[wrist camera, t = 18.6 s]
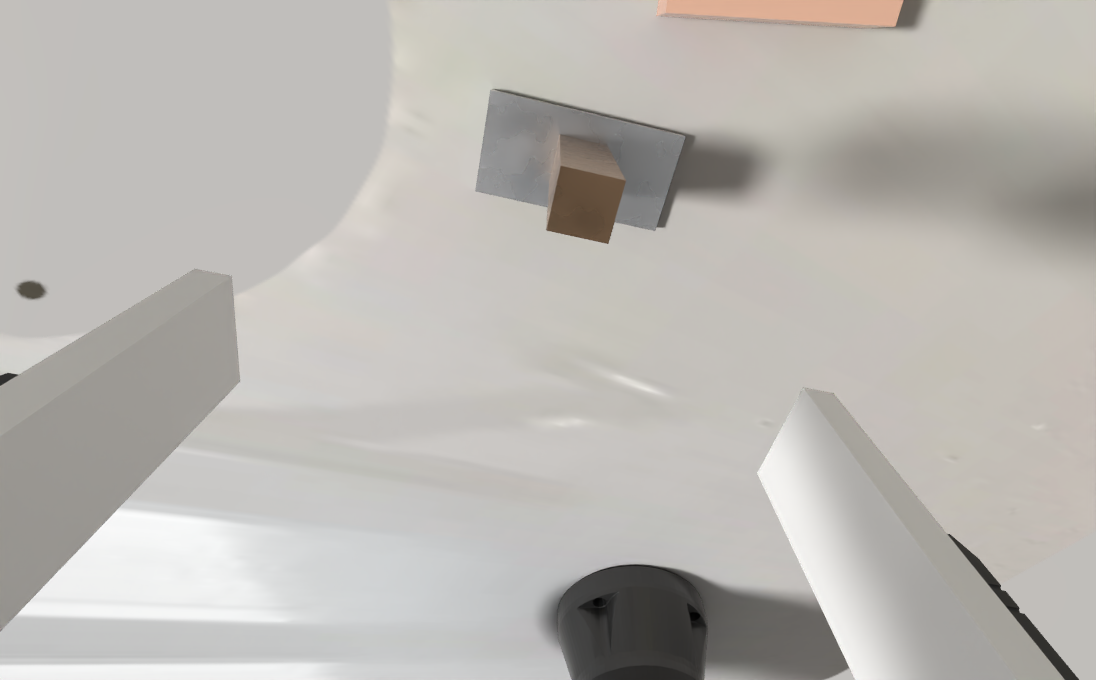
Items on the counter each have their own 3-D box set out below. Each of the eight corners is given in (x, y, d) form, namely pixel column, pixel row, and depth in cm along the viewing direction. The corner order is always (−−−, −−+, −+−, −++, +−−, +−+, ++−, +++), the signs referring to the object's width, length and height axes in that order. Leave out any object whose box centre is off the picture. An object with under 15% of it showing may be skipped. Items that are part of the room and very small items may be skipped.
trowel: (682, 134, 33) (734, 169, 23) (652, 226, 36) (688, 291, 26) (492, 88, 32) (464, 105, 22) (477, 187, 35) (446, 240, 25)
